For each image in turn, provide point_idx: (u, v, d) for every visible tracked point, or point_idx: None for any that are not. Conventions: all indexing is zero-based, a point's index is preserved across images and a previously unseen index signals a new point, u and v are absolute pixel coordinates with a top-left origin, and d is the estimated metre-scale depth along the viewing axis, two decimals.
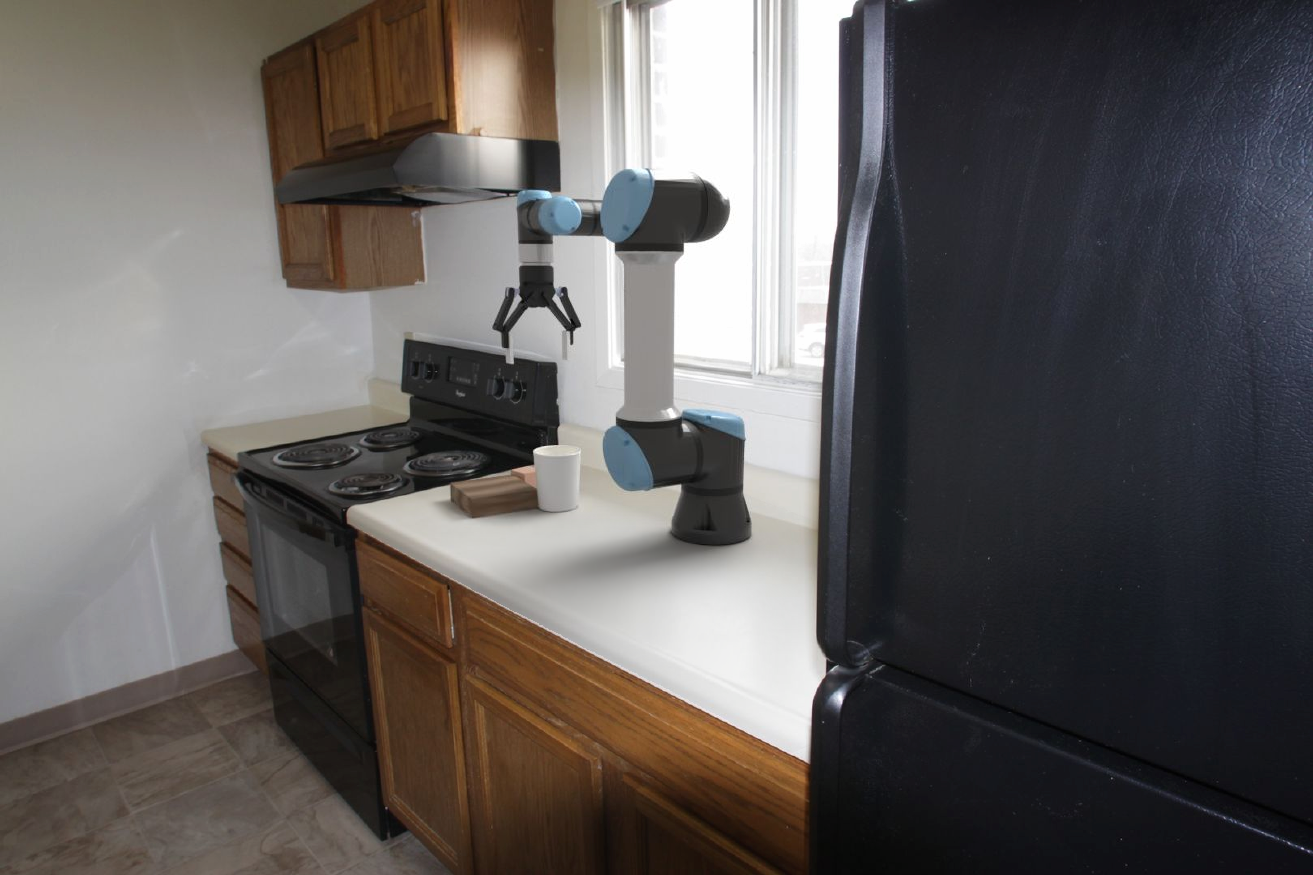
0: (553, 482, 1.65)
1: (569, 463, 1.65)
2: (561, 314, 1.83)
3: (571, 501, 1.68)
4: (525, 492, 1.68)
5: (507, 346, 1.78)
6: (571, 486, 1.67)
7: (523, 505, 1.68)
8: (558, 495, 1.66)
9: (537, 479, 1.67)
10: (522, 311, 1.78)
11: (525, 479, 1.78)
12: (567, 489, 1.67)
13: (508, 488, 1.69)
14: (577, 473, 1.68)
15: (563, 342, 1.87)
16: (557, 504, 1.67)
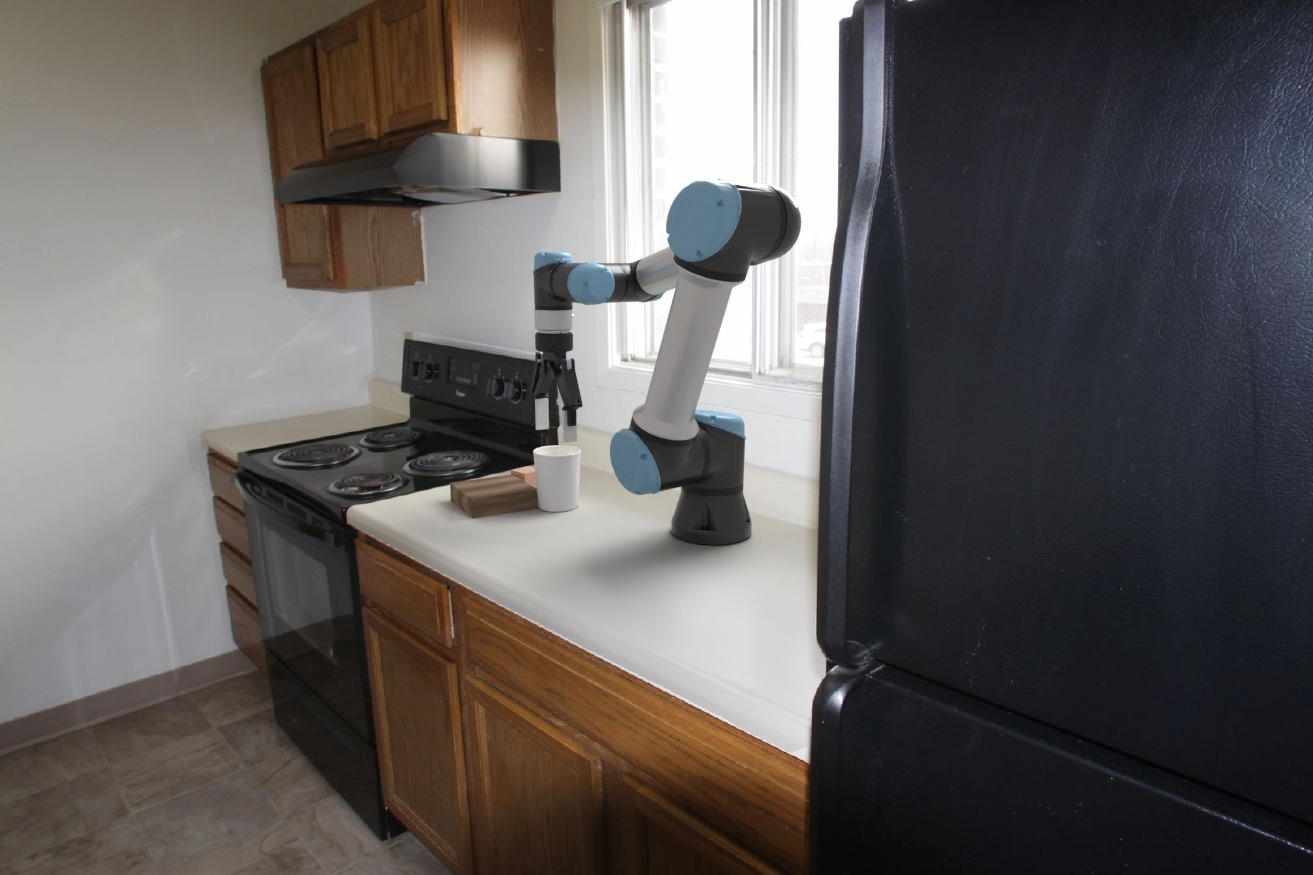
0: (553, 482, 1.65)
1: (569, 463, 1.65)
2: (560, 389, 1.61)
3: (571, 501, 1.68)
4: (525, 492, 1.68)
5: None
6: (571, 486, 1.67)
7: (523, 505, 1.68)
8: (558, 495, 1.66)
9: (537, 479, 1.67)
10: (541, 378, 1.68)
11: (525, 479, 1.78)
12: (567, 489, 1.67)
13: (508, 488, 1.69)
14: (577, 473, 1.68)
15: None
16: (557, 504, 1.67)
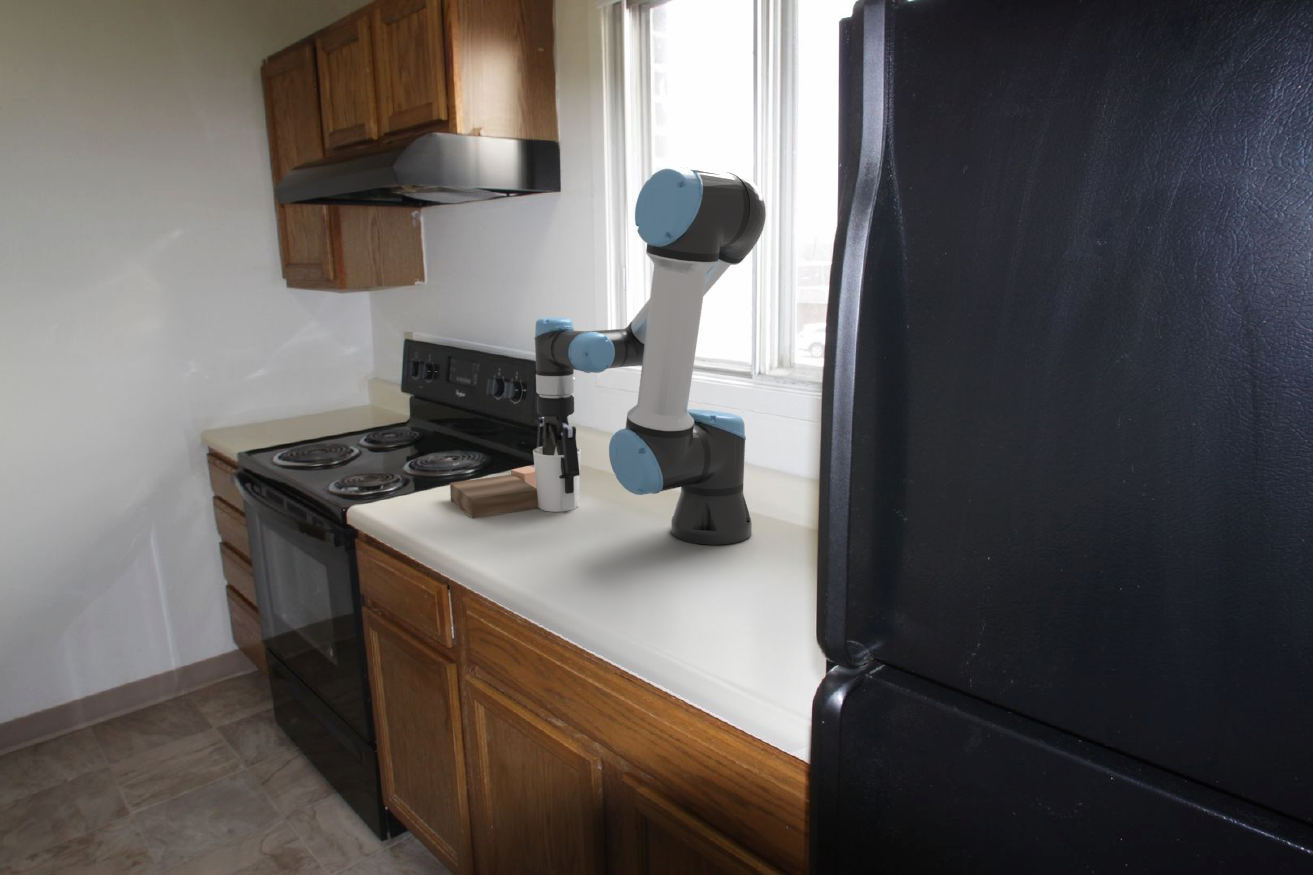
0: (553, 482, 1.65)
1: None
2: None
3: None
4: (525, 492, 1.68)
5: None
6: None
7: (523, 505, 1.68)
8: (558, 495, 1.66)
9: (537, 479, 1.68)
10: (545, 443, 1.70)
11: (525, 479, 1.78)
12: None
13: (508, 488, 1.69)
14: None
15: None
16: (557, 504, 1.67)
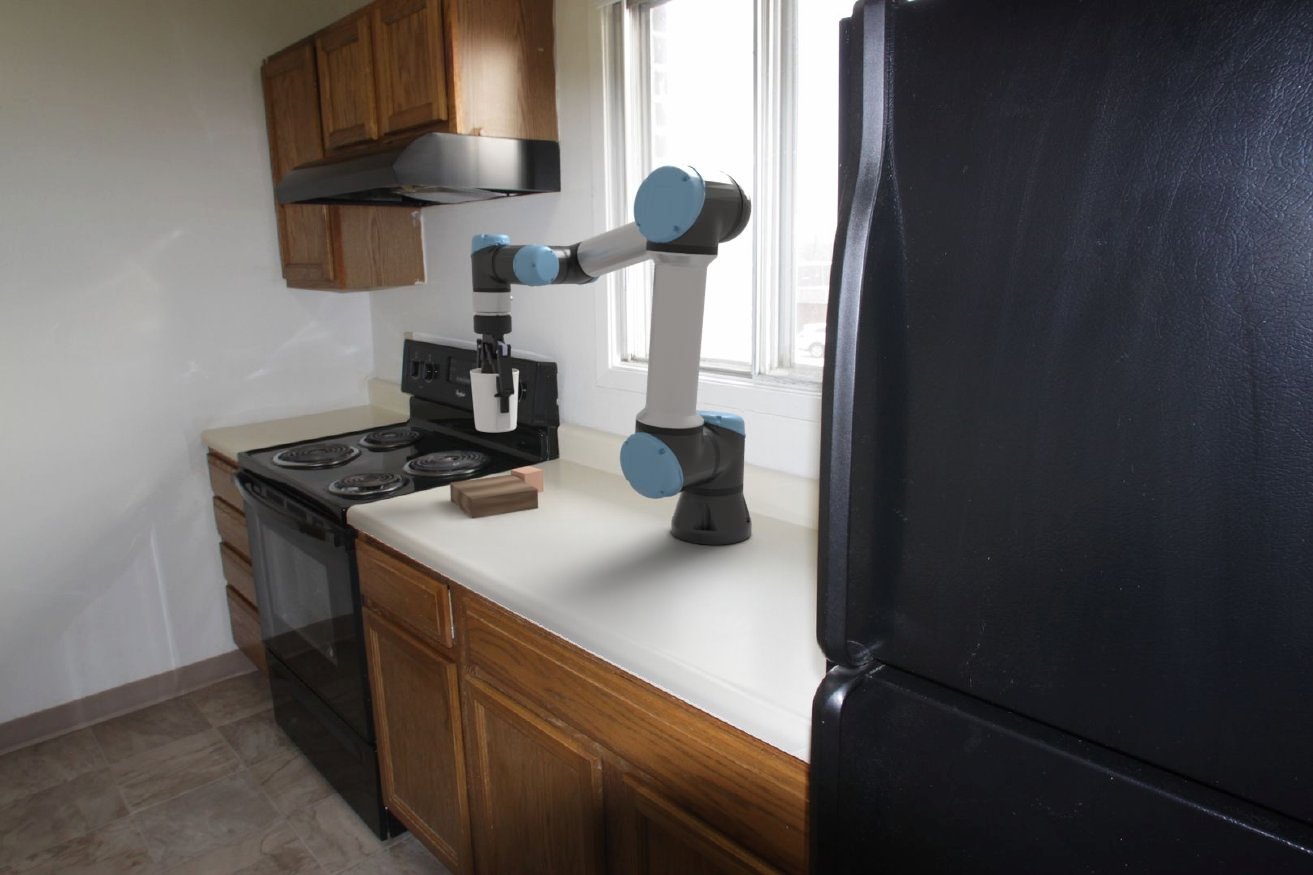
0: (488, 401, 1.64)
1: None
2: None
3: None
4: (525, 492, 1.68)
5: None
6: None
7: (523, 505, 1.68)
8: (494, 415, 1.64)
9: (473, 399, 1.66)
10: (483, 364, 1.68)
11: (525, 479, 1.78)
12: None
13: (508, 488, 1.69)
14: (514, 394, 1.66)
15: None
16: (493, 424, 1.65)
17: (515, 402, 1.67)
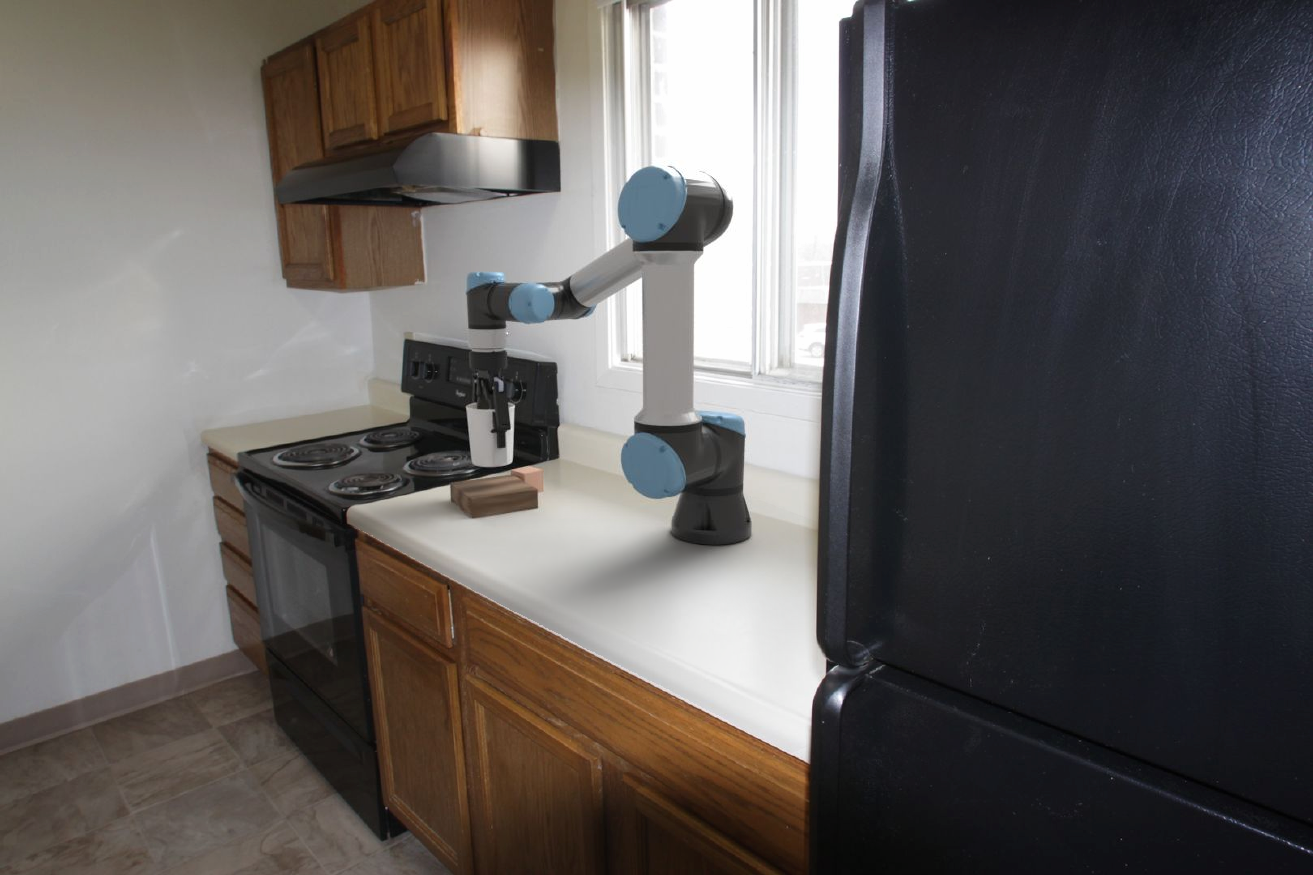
0: (485, 436, 1.65)
1: None
2: None
3: None
4: (525, 492, 1.68)
5: None
6: None
7: (523, 505, 1.68)
8: (490, 450, 1.66)
9: (470, 434, 1.67)
10: (479, 399, 1.70)
11: (525, 479, 1.78)
12: None
13: (508, 488, 1.69)
14: None
15: None
16: (489, 459, 1.66)
17: (511, 436, 1.68)
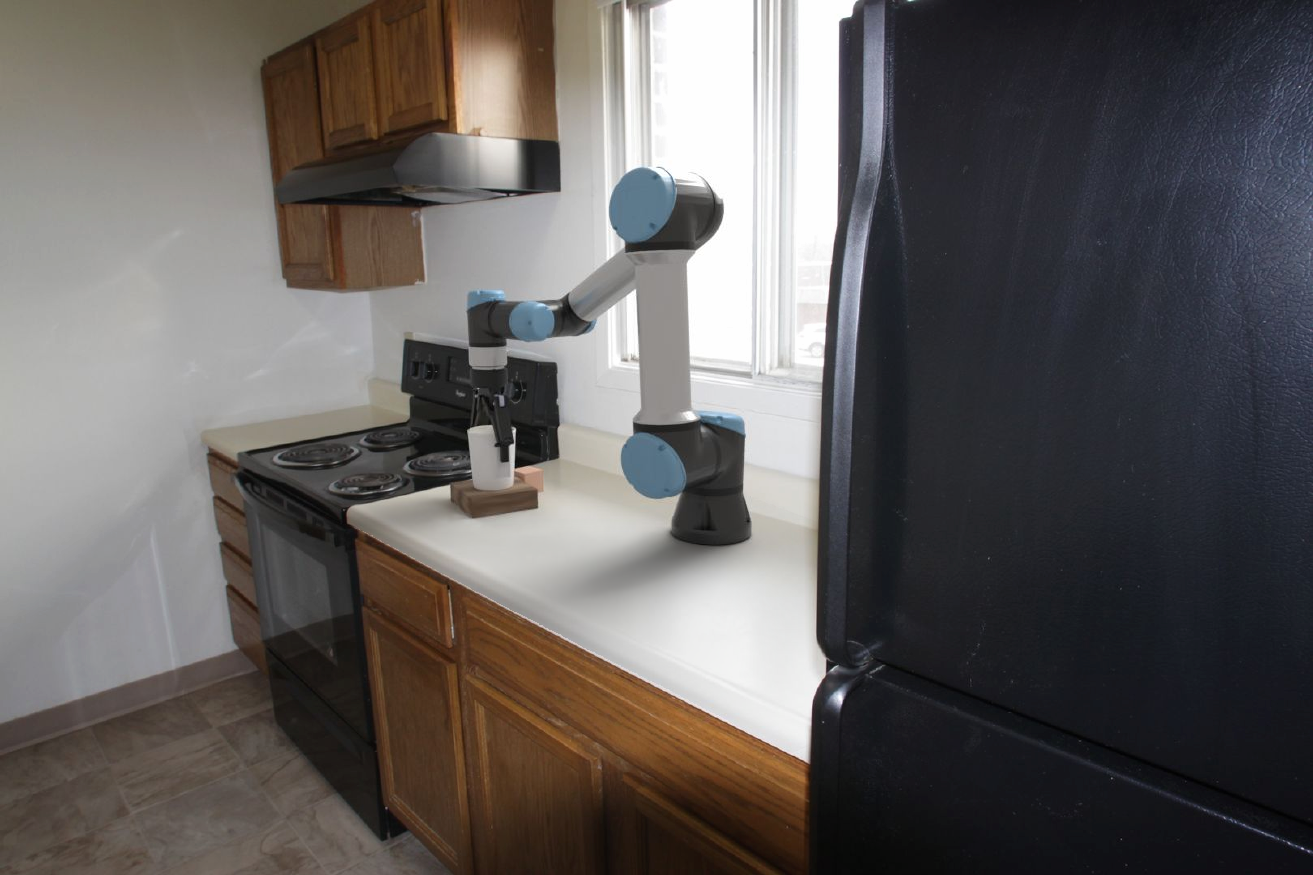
0: (486, 461, 1.66)
1: None
2: (493, 425, 1.64)
3: (505, 480, 1.68)
4: (525, 492, 1.68)
5: None
6: None
7: (523, 505, 1.68)
8: (491, 474, 1.67)
9: (471, 458, 1.68)
10: (478, 413, 1.71)
11: (525, 479, 1.78)
12: None
13: (508, 488, 1.69)
14: (511, 452, 1.68)
15: None
16: (491, 483, 1.67)
17: (512, 460, 1.69)
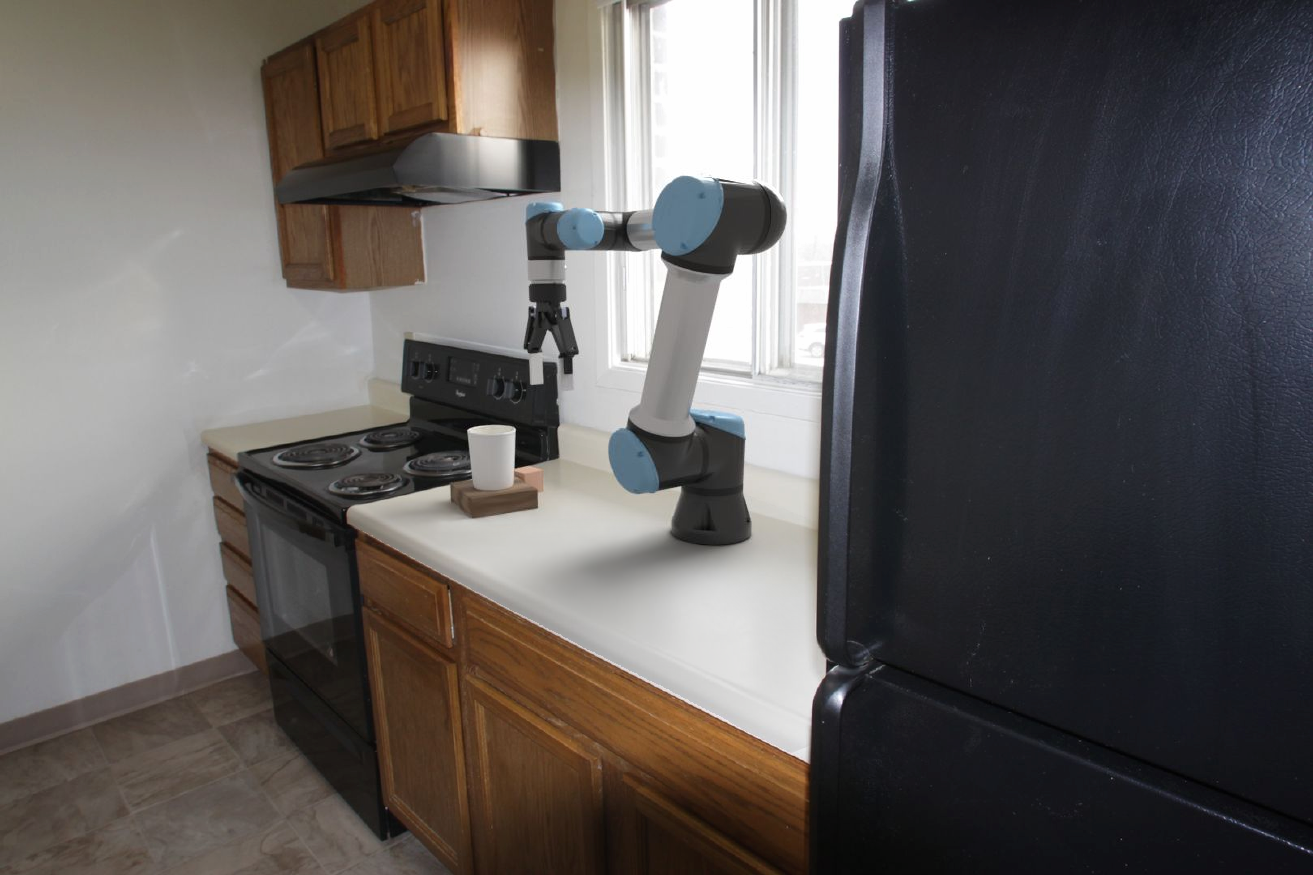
0: (486, 461, 1.66)
1: (502, 441, 1.66)
2: (555, 338, 1.62)
3: (505, 480, 1.68)
4: (525, 492, 1.68)
5: None
6: (505, 465, 1.67)
7: (523, 505, 1.68)
8: (491, 474, 1.67)
9: (471, 458, 1.68)
10: (535, 331, 1.70)
11: (525, 479, 1.78)
12: (501, 468, 1.67)
13: (508, 488, 1.69)
14: (511, 452, 1.68)
15: None
16: (491, 483, 1.67)
17: (512, 460, 1.69)
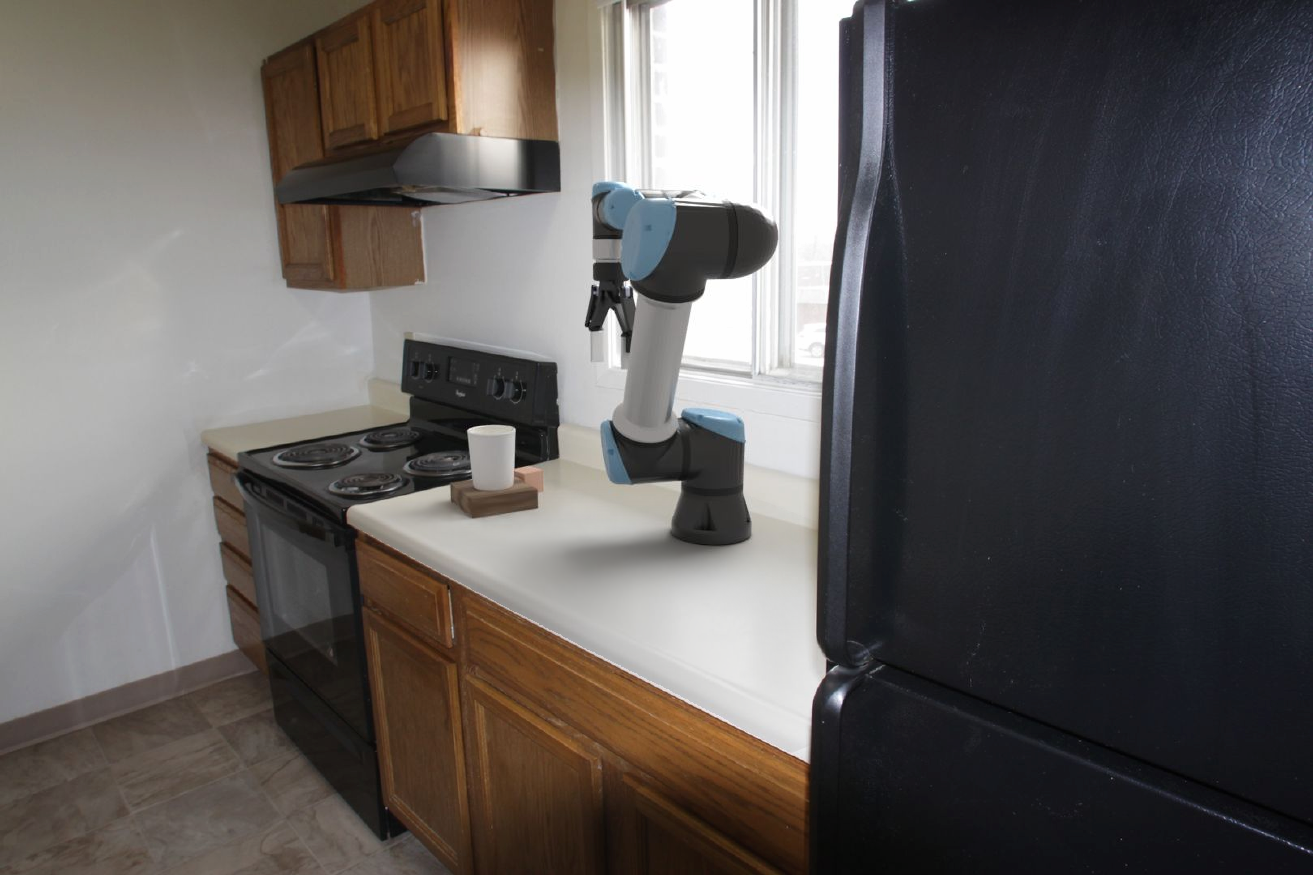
0: (486, 461, 1.66)
1: (502, 442, 1.66)
2: (618, 317, 1.65)
3: (505, 480, 1.68)
4: (525, 492, 1.68)
5: None
6: (505, 465, 1.67)
7: (523, 505, 1.68)
8: (491, 474, 1.67)
9: (471, 458, 1.68)
10: (597, 310, 1.72)
11: (525, 479, 1.78)
12: (501, 468, 1.67)
13: (508, 488, 1.69)
14: (511, 452, 1.68)
15: None
16: (491, 483, 1.67)
17: (512, 460, 1.69)
